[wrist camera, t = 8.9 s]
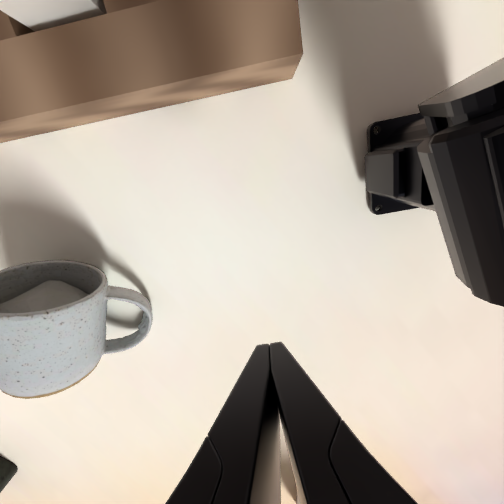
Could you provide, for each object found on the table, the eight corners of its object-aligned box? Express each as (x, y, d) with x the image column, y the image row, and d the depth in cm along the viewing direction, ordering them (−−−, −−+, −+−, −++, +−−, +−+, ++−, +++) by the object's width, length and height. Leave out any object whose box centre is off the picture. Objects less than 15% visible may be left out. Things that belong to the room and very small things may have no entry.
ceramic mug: (43, 333, 24) (-47, 407, 17) (33, 253, 21) (-80, 300, 14) (155, 347, 24) (115, 424, 17) (159, 272, 22) (114, 325, 15)
